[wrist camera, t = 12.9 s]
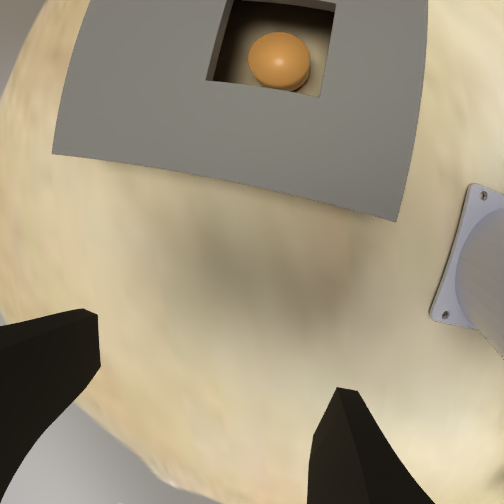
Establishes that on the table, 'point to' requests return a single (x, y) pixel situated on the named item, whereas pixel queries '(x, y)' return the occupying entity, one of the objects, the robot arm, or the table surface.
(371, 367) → the table surface
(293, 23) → the table surface
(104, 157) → the panel
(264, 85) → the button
